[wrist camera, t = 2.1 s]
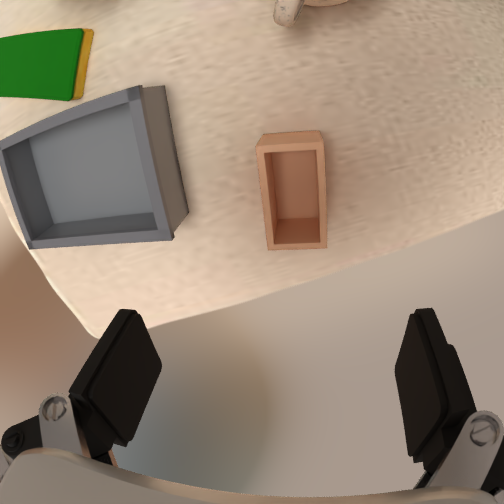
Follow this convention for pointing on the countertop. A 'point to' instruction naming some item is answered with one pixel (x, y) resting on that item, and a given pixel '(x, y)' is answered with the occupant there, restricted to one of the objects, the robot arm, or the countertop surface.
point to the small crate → (293, 189)
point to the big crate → (97, 173)
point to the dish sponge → (45, 64)
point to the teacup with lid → (296, 9)
